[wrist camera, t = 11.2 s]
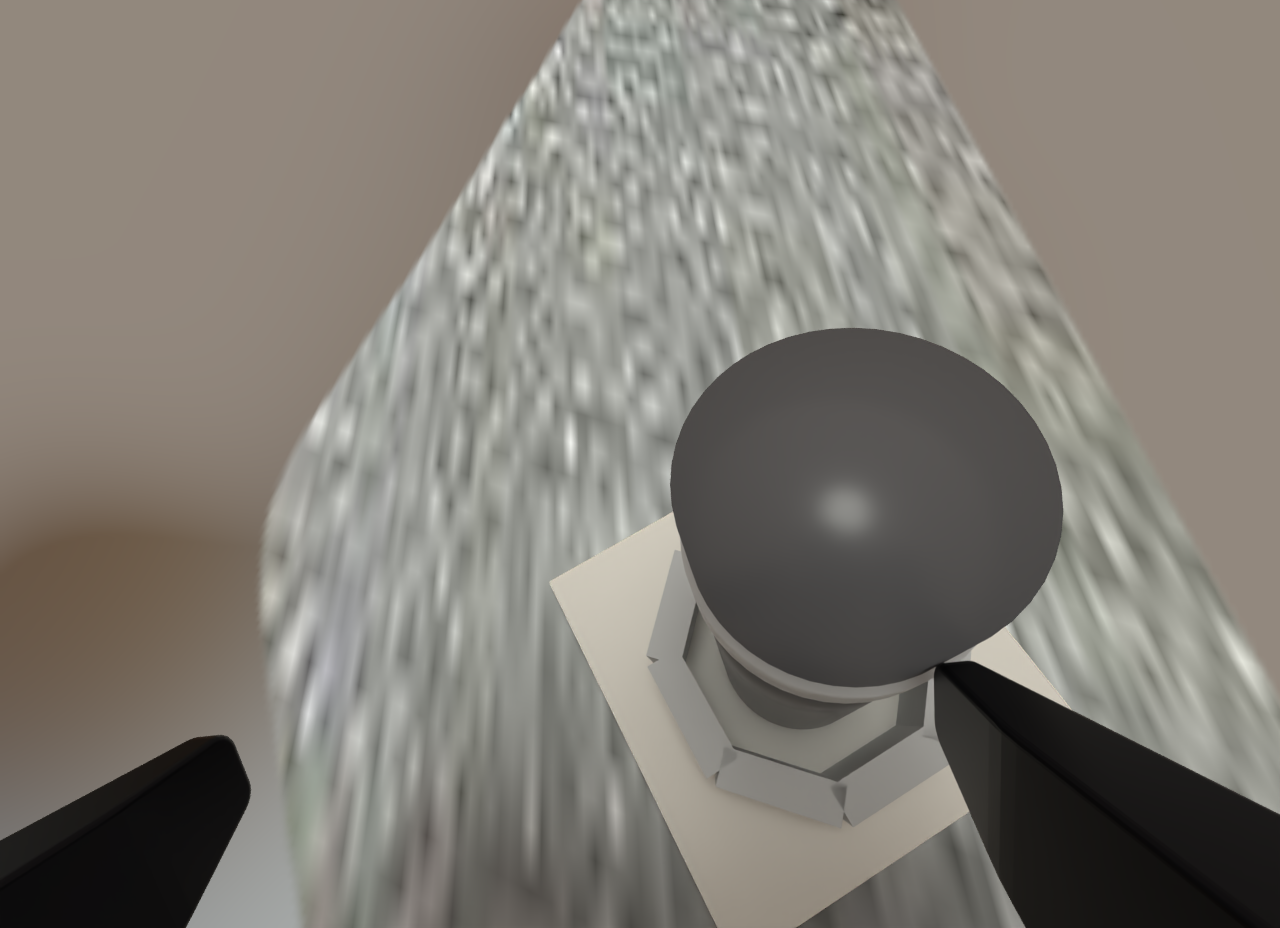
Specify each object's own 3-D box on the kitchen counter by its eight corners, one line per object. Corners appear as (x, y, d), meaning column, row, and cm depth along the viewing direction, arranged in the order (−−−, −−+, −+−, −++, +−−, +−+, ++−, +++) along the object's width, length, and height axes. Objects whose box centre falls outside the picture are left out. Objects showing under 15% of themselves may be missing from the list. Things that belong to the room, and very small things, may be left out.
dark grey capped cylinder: (907, 680, 18) (1178, 531, 6) (774, 764, 17) (807, 767, 6) (812, 552, 20) (884, 270, 9) (692, 624, 20) (601, 430, 8)
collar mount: (1070, 731, 18) (1148, 734, 15) (735, 953, 17) (741, 1009, 14) (831, 430, 23) (852, 384, 20) (555, 587, 22) (529, 564, 18)
